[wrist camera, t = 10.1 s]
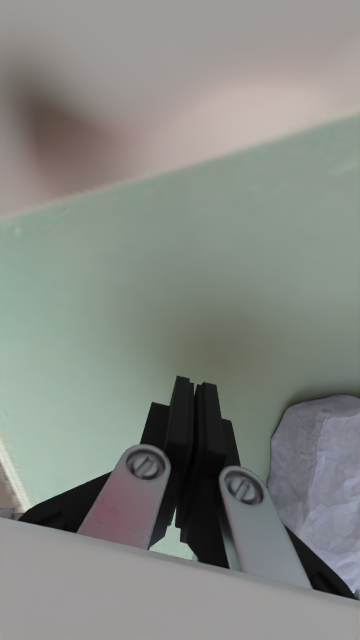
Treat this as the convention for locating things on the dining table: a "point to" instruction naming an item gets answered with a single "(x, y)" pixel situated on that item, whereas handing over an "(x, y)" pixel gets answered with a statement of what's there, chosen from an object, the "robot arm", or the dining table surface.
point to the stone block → (321, 480)
